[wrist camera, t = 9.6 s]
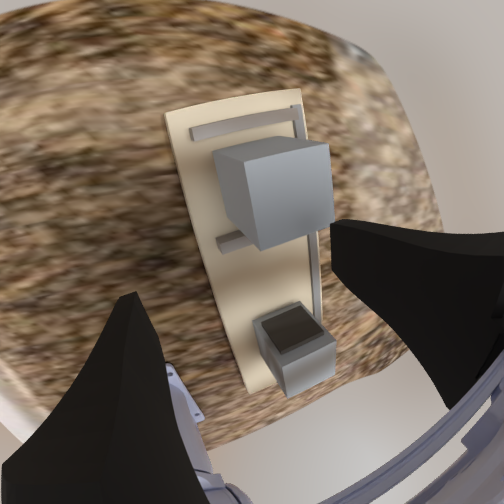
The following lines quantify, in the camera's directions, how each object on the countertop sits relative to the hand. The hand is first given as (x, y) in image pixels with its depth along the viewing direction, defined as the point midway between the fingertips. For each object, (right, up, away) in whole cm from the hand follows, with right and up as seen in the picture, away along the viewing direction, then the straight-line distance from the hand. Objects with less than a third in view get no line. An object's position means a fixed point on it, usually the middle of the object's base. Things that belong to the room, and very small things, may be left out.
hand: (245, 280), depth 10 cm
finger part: (0, +5, +7) cm, 9 cm away
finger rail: (+1, 0, +11) cm, 11 cm away
